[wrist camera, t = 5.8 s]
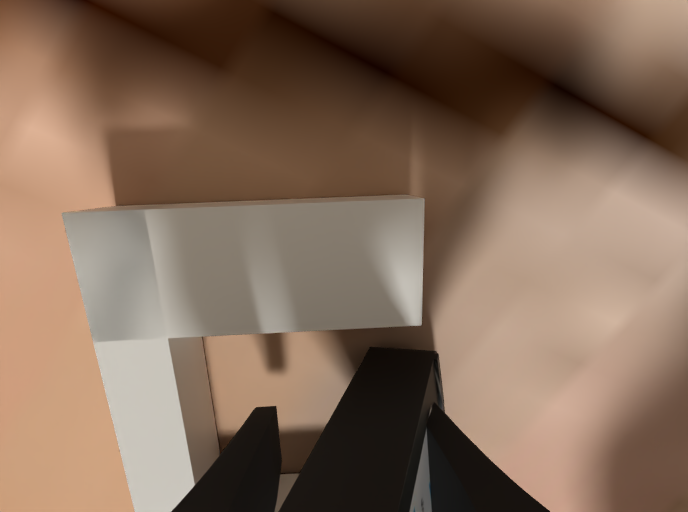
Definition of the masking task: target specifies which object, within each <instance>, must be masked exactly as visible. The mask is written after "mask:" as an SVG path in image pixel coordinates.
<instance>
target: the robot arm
mask: <svg viewBox="0 0 688 512" xmlns="http://www.w3.org/2000/svg"><path fill="white" fill-rule="evenodd" d="M426 427H427V443H428V459H429V475H430V491H431V506H432V512H550V511H549V510H548V509H546V508H545V507H544V506H543V505H541V504H540V503H539V502H538V501H536V500H535V499H534V498H533V497H531V496H530V495H529V494H528V493H526V492H525V491H524V490H523V489H522V488H521V487H519V486H518V485H517V484H516V483H515V482H514V481H513V480H511V479H510V478H509V477H508V476H507V475H506V474H505V473H504V472H503V471H502V470H501V469H499V468H498V467H497V466H496V465H495V464H494V463H493V462H492V461H491V460H490V459H489V458H488V457H487V456H486V455H485V454H484V453H483V452H482V451H481V450H480V449H479V448H478V447H477V446H476V445H475V444H474V443H473V442H472V441H471V440H470V439H469V438H468V437H467V436H466V435H465V434H464V433H463V432H462V431H461V430H460V429H459V428H458V427H457V426H456V425H455V424H454V422H453V421H452V420H451V419H450V418H449V417H448V416H447V415H446V414H445V413H444V412H443V410H442V409H441V408H440V407H439V406H438V405H437V404H436V403H435V402H434V404H433V407H432V409H431V412H430V415H429V418H428V421H427V424H426ZM281 463H282V458H281V448H280V438H279V428H278V418H277V408H276V406H270V407H256V408H255V409H254V410H253V411H252V413H251V414H250V416H249V417H248V418H247V420H246V421H245V423H244V424H243V425H242V427H241V428H240V429H239V431H238V432H237V433H236V435H235V436H234V437H233V439H232V440H231V441H230V443H229V444H228V445H227V447H226V448H225V449H224V450H223V452H222V453H221V454H220V455H219V457H218V458H217V459H216V460H215V462H214V463H213V464H212V466H211V467H210V468H209V469H208V470H207V472H206V473H205V474H204V475H203V476H202V477H201V479H200V480H199V481H198V482H197V483H196V484H195V485H194V487H193V488H192V489H191V490H190V491H189V492H188V494H187V495H186V496H185V497H184V498H183V499H182V500H181V501H180V502H179V504H178V505H177V506H176V507H175V508H174V509H173V510H172V511H171V512H275V507H276V502H277V496H278V489H279V481H280V472H281Z"/></svg>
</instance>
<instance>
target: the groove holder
mask: <svg viewBox="0 0 688 512" xmlns="http://www.w3.org/2000/svg"><path fill="white" fill-rule="evenodd" d="M424 206H425V198H420V197H416V196H411V195H407V194H406V195H381V196H355V197H330V198H305V199H279V200H254V201H229V202H203V203H178V204H152V205H127V206H111V207H103V208H95V209H88V210H80V211H72V212H65V213H62V217H63V221H64V225H65V229H66V233H67V238H68V242H69V246H70V250H71V254H72V258H73V262H74V266H75V270H76V274H77V278H78V282H79V286H80V290H81V294H82V299H83V303H84V307H85V311H86V315H87V319H88V323H89V327H90V331H91V335H92V339H93V343H94V347H95V351H96V355H97V360H98V364H99V368H100V372H101V376H102V380H103V384H104V388H105V392H106V396H107V400H108V404H109V408H110V412H111V417H112V421H113V425H114V429H115V433H116V437H117V441H118V445H119V449H120V453H121V457H122V461H123V465H124V469H125V473H126V478H127V482H128V486H129V490H130V494H131V498H132V502H133V506H134V510H135V512H171V511H172V510H173V509H174V508H175V507H176V506H177V505H178V504H179V502H180V501H181V500H182V499H183V498H184V497H185V496H186V495H187V494H188V492H189V491H190V490H191V489H192V488H193V487H194V485H195V484H196V483H197V482H198V481H199V480H200V479H201V477H202V476H203V475H204V474H205V473H206V472H207V470H208V469H209V468H210V467H211V466H212V464H213V463H214V462H215V460H216V459H217V458H218V457H219V455H220V450H219V443H218V437H217V431H216V424H215V418H214V411H213V405H212V399H211V392H210V386H209V379H208V373H207V367H206V360H205V354H204V347H203V341H202V337H203V336H222V335H242V334H262V333H282V332H302V331H321V330H341V329H361V328H381V327H400V326H420V325H422V293H423V250H424ZM299 474H300V473H296V474H280V481H279V489H278V496H277V502H276V507H275V512H278V511H279V510H280V508H281V506H282V504H283V502H284V501H285V499H286V497H287V495H288V493H289V492H290V490H291V488H292V486H293V484H294V483H295V481H296V479H297V477H298V475H299Z"/></svg>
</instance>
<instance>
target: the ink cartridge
mask: <svg viewBox="0 0 688 512" xmlns="http://www.w3.org/2000/svg"><path fill="white" fill-rule="evenodd" d="M434 402H435V403H436V404H437V405H438V406H439V407H440V408H441V409H442V410H443V412H444V413H445V410H444V397H443V388H442V380H441V371H440V362H439V354H438V353H437V352H436V351H425V350H410V349H395V348H380V347H370V348H369V350H368V352H367V353H366V355H365V357H364V359H363V361H362V362H361V364H360V366H359V368H358V370H357V371H356V373H355V375H354V377H353V379H352V380H351V382H350V384H349V386H348V388H347V389H346V391H345V393H344V395H343V397H342V398H341V400H340V402H339V404H338V405H337V407H336V409H335V411H334V413H333V414H332V416H331V418H330V420H329V422H328V423H327V425H326V427H325V429H324V431H323V432H322V434H321V436H320V438H319V440H318V441H317V443H316V445H315V447H314V449H313V450H312V452H311V454H310V456H309V458H308V459H307V461H306V463H305V465H304V466H303V468H302V470H301V472H300V474H299V475H298V477H297V479H296V481H295V483H294V484H293V486H292V488H291V490H290V492H289V493H288V495H287V497H286V499H285V501H284V502H283V504H282V506H281V508H280V510H279V511H278V512H432V506H431V491H430V475H429V459H428V443H427V427H426V424H427V421H428V418H429V415H430V412H431V409H432V407H433V404H434Z"/></svg>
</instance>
